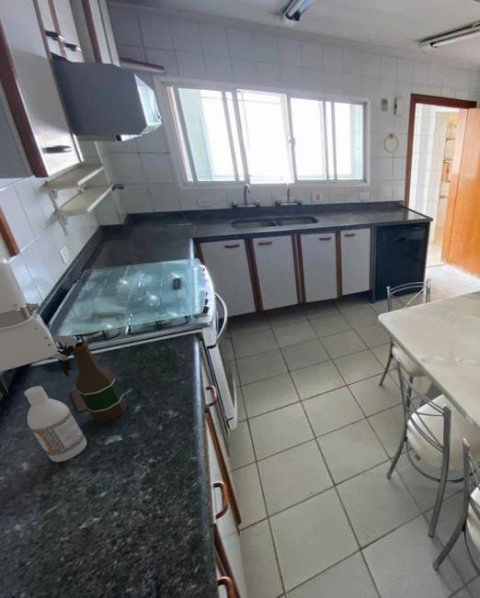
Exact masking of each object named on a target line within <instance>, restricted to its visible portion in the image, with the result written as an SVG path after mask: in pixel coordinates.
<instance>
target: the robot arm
mask: <svg viewBox="0 0 480 598" xmlns="http://www.w3.org/2000/svg"><path fill="white" fill-rule="evenodd" d="M39 310H41V307H40V304H39V303H38V302H36V303H30V302H28V301H27V299H26V296H25V295H24V293H23V290H22V288H21V286H20V283H19V281H18V279H17V277H16V274H15V272H14V270H13V268H12V266H11V264H10V262H9V260H8V259H6V258H5V257H4V256H1V255H0V393H1V394H2V396H3V397H4V398H5V397H7V396H8V395H9V389H8V387H7V385H6V384H5V381H4V380H3V377H2V376H1V375H2V373H3V372H5V371H9V370H12V369H16V368H19V367H22V366H27V365H29V364H33V363H36V362H40V361H43V360H46V359H49V358H53V359H56V360H58V363H59V365H60V367H61V369H62V372H63V374H64V376H65V377H66V376H67V377H68V376H70V372H69V371H71V370H72V367H71V364H70V362H69V357H70V356H71V354H72V352H73V351H74V349H75V345H76V343H78V338H77V337H76V335H60V334H59V335H58V334H57V335H55V334H52V333H51V331H50V329H49V328H48V326H47V325H46V323H45V321H44V320H43V318H42V317H41V315H39V314H38V313H37V312H36V311H39ZM56 343H64V344H65V343H66V346H65V347H64V348H63V349H59V348H58V347H57V345H56Z"/></svg>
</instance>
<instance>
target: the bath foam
mask: <svg viewBox="0 0 480 598" xmlns="http://www.w3.org/2000/svg"><path fill="white" fill-rule="evenodd" d="M23 394H24V396H25V397H26V398H27V401H28V402H29V404H30V407H29V410H28V412H27V416H26V421H27V425H28V428H29V429H30V430H31V432H32V433H33V435H34V436H35V438H36V440H37V441H38V443H39V444H40V446H41V447H42V449H43V450H44V452H45V453H46V455H47V457H48V458H49V459H50V461H52V462H54V463H55V462H56V463H60V462H61V463H62V462H65V461H68V460H71V459H72V458H74V457H76V456H78V455H79V454H81V453H82V452H83V451H84V450H85V449H86V447H87V444H88V441H87V440H88V439H86V436H85V435H84V433H83V431H82V429H81V428H80V426H79V424H78V423H77V421H76V418H75V417H74V416H73V414H72V411H71V410H70V408H69V407H68V406H67V405H66V404H65V403H63V401H60V400H57V399H54V398H50V397H49V396H48V394H47V393H46V391H45V389H44V387H43V386H41V385H36V386H32V387H30V388H28V389H26V390H25V391H24V393H23Z"/></svg>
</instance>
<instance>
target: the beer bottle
mask: <svg viewBox="0 0 480 598" xmlns="http://www.w3.org/2000/svg"><path fill="white" fill-rule="evenodd" d="M71 354H72V357H73V359H74V362H75V364H76V367H77V370H78V375H77V377H76V380H75V386H76V390H77V389H78V392H79V394H80V395H81V397H82V399H83V401H84V403H85V405H86V407H87V409H86V410H88V413H89V414H90V417H91V418H92V419H93V420H94V421H95V422H98V423H99V424H102V423H108V422H112V421H114V420H116V419H117V418H119V417H120V416H122V415H124V414H125V412H126V410H127V408H128V405H127V402H126V399H125V397H124V395H123V392H122V390H121V388H120V386H119V384H118V382H117V378H116V379H115V377H114V376H115V375H114V373H113V372H111V371H110V370H109V369H107V368H105V367H103V366H101V365H100V364H99V363H98V361H97V360H96V358H95V356H94V355H93V353H92V352H91V350H90V345H89V344H88V342H85V341H79V342H78V341H77V342H76V345H75V349H74V351H73V352H72V353H71Z"/></svg>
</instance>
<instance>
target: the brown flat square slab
mask: <svg viewBox="0 0 480 598" xmlns="http://www.w3.org/2000/svg"><path fill="white" fill-rule="evenodd" d="M113 376H114V377H115V379H116V380H117V375H113ZM70 395H71V398H72V399H73V403H74V405H75V408H76V410H77V412H78V413H81V412H84V411H86V410H88V409H87V407H86V405H85V403H84V401H83V399H82V397H81V395H80V394H79V392H78V389H77V388H76V389H74V390H72V391H70Z"/></svg>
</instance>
